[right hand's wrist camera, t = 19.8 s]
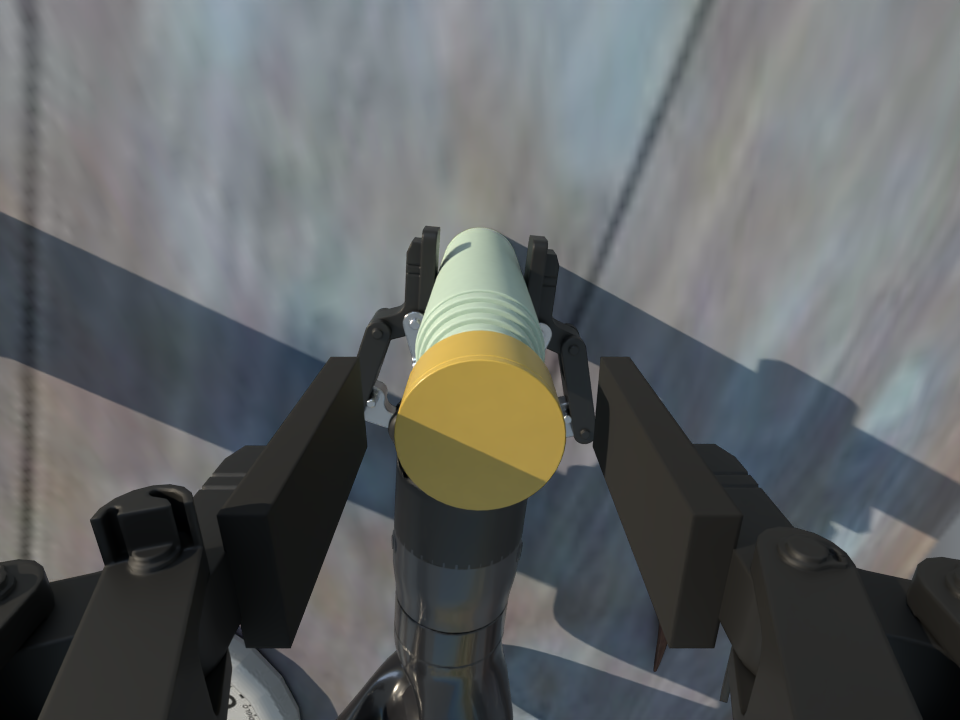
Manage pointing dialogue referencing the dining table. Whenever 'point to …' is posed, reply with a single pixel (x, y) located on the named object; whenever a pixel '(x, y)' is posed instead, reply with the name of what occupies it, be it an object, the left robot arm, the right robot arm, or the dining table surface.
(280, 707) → the wall clock
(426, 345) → the bottle
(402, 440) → the cap
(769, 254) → the dining table surface
